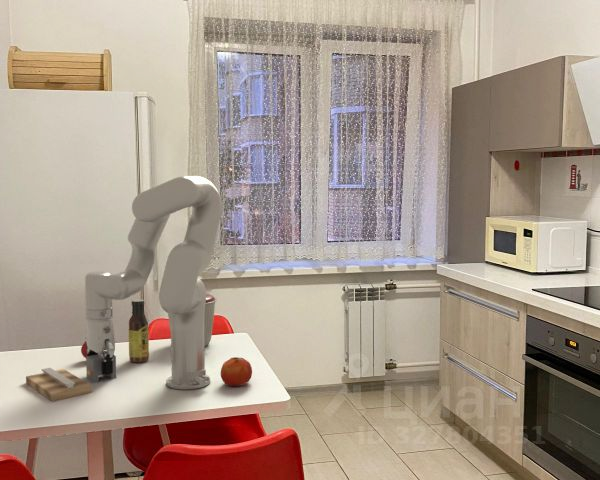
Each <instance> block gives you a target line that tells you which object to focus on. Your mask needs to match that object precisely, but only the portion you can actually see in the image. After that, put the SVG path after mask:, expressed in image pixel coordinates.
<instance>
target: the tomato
mask: <svg viewBox="0 0 600 480" xmlns="http://www.w3.org/2000/svg"><path fill="white" fill-rule="evenodd" d="M252 376H253V369H252V365H251V363H250V362H249V361H248V360H247V359H245V358H243V357H231V358H229V359H228V360H226V361H224V362H223V364H222V365H221V368H220V377H221V380H222V382H224V384H225V385H226V386H230V387H240V386H244V385H245V384H247V383H249V382H250V380H251V378H252Z"/></svg>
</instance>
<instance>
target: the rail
mask: <svg viewBox="0 0 600 480" xmlns="http://www.w3.org/2000/svg"><path fill="white" fill-rule="evenodd" d="M41 372H42V373H43V374H44V375H46V376H47V377H49V378H51V379H52V380H54V381H55V382H57V383H59V384H60V385H62V386H63V387H65V388H66V389H71V388H73V384H75V382H73V381H71V380H70V379H68V378H66V377H65V376H63V375H62V374H60V373H58V372H57V371H55V369H53V368H52V367H46V368H42V369H41Z"/></svg>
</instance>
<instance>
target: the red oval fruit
mask: <svg viewBox="0 0 600 480" xmlns="http://www.w3.org/2000/svg"><path fill="white" fill-rule="evenodd" d="M86 344H87V343H86V340H85V341H84V342H83V344H82V346H81V348H80V353H81V355H82V356H83V358H85V359H86V357H87V347H86Z"/></svg>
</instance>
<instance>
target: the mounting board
mask: <svg viewBox="0 0 600 480" xmlns="http://www.w3.org/2000/svg"><path fill="white" fill-rule="evenodd" d="M54 370H55V369H54ZM55 371H57V372H58V373H60V374H62V375H63V376H65V377H66V378H68V379H70V380H71V381H73V382H75V384H73V388H71V389H66V388H65V387H63V386H62V385H60V384H59V383H57V382H55V381H54V380H52V379H51V378H49V377H47V376H46V375H44V374H43V372H41V373H37V374H30V375H26V376H25V384H27V385H28V386H29V387H31V388H33V390H34V391H36V392H38V393H39V394H41V395H42V396H44V397H45V398H47V399H48V400H50V401H51V402H55V401H60V400H63V399H65V400H66V399H68V398H73V397H78V396H81V395H85V394H90V393H92V384H90V383H88V382H87V381H85V380H83V379H81V378H80V377H78V376H77V375H75V374H73V373H72V372H70V371H68V370H66V369H64V368H61V369H60V368H59V369H57V370H55Z"/></svg>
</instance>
